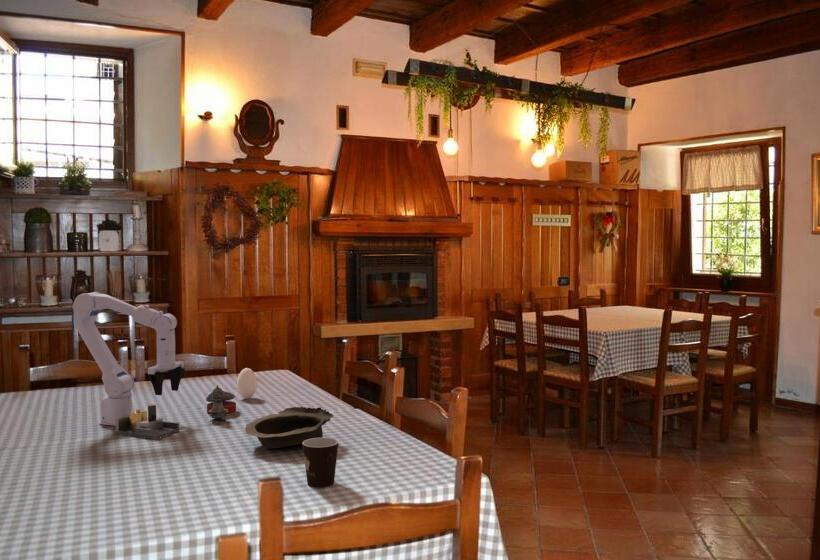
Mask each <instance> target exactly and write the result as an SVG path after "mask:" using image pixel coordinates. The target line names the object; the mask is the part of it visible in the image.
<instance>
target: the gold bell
mask: <svg viewBox="0 0 820 560" xmlns="http://www.w3.org/2000/svg"><path fill="white" fill-rule="evenodd" d="M144 419H148V410H141V408H136V409H135V410H134V411H133V410H132V412H130V430H135V428H136V422H138V421H141V420H144Z"/></svg>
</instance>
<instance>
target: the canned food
mask: <svg viewBox="0 0 820 560" xmlns="http://www.w3.org/2000/svg"><path fill="white" fill-rule="evenodd" d="M222 398H223V400H222V405H223V408H224V409H227V411H226V414H225V416H228V415H227V414H229V415H233V414H235V413H236V412H237V402H235V401H232V400H234V399H235V398H236V396H235V395H234V393H231V392H228V391H225V390H222ZM212 399H213V391H212V392H210V394H208V396H207V397H206V398H205V401H206V402H209V403H207V404H206V414H207V415H209V414H210V412H209V410H211V409H212V408H213V400H212ZM232 413H233V414H232Z"/></svg>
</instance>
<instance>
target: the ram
mask: <svg viewBox="0 0 820 560" xmlns="http://www.w3.org/2000/svg"><path fill="white" fill-rule="evenodd" d="M163 421H164V417H158V416H157V405H156V404H150V405H147V419H144V420H141V421H138V422H136V427H139V428H147V429H158V428H161V427H163Z"/></svg>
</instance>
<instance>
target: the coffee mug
mask: <svg viewBox="0 0 820 560" xmlns="http://www.w3.org/2000/svg"><path fill="white" fill-rule="evenodd" d="M301 444H302V445H301V446H302V452H303V460H304V466H305V473H306V482H307V486H309V487H311V488H316V489H318V488H319V489H322V488H329V487H331V486H333V485H334V484H335V478H336V469H337V468H336V467H337V458H338V450H339V449H338V447H339V440H338V439H336V438H333V437H323V438H312V439H308V440H305V441H303V443H301Z"/></svg>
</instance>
